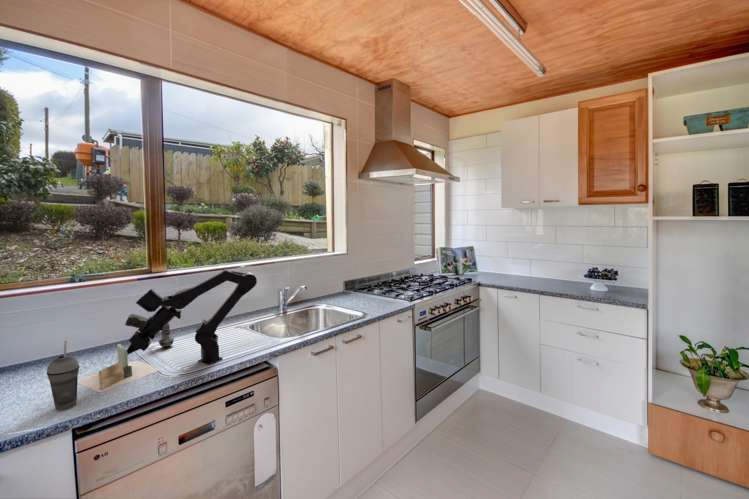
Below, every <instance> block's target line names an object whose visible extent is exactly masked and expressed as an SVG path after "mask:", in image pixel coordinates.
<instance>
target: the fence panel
mask: <svg viewBox="0 0 749 499" xmlns="http://www.w3.org/2000/svg"><path fill="white" fill-rule="evenodd" d="M116 348H117V363H119V362H122V363H123V368H124V367H126V366H128V363H129V359H128V358H129V356H128V355H129V354H128V355H127V349H126V348H125V347H124V346H123V345H122V344H121V343H117V344H116ZM123 372H124V371H123Z"/></svg>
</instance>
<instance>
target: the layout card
mask: <svg viewBox="0 0 749 499" xmlns="http://www.w3.org/2000/svg"><path fill="white" fill-rule="evenodd" d="M128 366H132V376H131V377H124V372H123V379H122V380H120V381H118V382H116V383H114V384H112V385H110V386H108V387H106V388H103V389H100V382H99V372H97V373H94V374H91V375H88V376H85V377H83V378H82V377H81V378H79V379H78V381H77V385H78V384H79V385H81V386H83V387H85V388H88V389H90V390H92V391H95V392H97V393H98V394H99V393H103V392H106V391H108V390H111V389H114V388H116V387H119V386H122V385H125V384H127V383H130V382H133V381H135V380H137V379H140V378H143V377H145V376H149V375H151V374H153V373H156V372H159V371H158V370H157V369H156V368H154V367H155V366H154V365H152V364H148V363H145V362H141V361H139V360H133V361H130V362H128ZM153 366H154V367H153Z"/></svg>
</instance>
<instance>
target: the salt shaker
mask: <svg viewBox="0 0 749 499" xmlns="http://www.w3.org/2000/svg"><path fill="white" fill-rule="evenodd" d="M160 333H161V339H160V340H158V344H159V346H160V350H161V351H165V350H170V349H172V348H173V344H174V340H175V338H173V337H171V329H170V322H169V323H168V324H167V325H166V326H165V327H164V328H163V330H162V331H160Z"/></svg>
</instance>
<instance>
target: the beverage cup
mask: <svg viewBox="0 0 749 499" xmlns="http://www.w3.org/2000/svg"><path fill="white" fill-rule="evenodd" d="M63 343H64V344H63V355H60V356H56V357H54V359H52V360H51V361H50V362H49V364H48V366H47V369H46V373H45V374H46V376H47V378H48V381H49V384H50V389H51V394H52V399H53V405H54V407H55V411H57V412H63V411H64V412H65V411H68V410H70V409H73V408H74V407H76V406H77V402H78V383H77V381H78V377H79V376H78V375H79V372H80V371H79V370H80V364H79V362H78V359H76V358H75V357H74V356H72V355H67V346H68V345H67V340H65V341H64V342H63Z"/></svg>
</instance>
